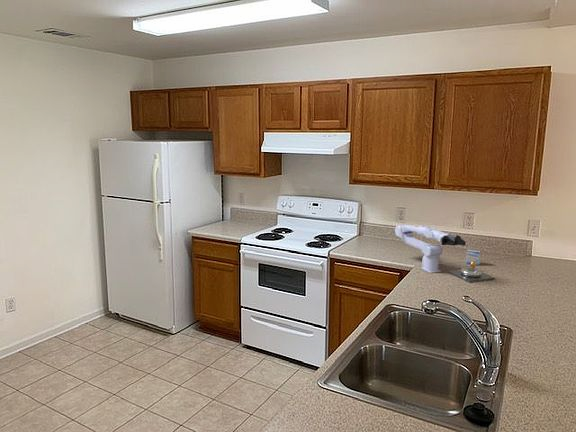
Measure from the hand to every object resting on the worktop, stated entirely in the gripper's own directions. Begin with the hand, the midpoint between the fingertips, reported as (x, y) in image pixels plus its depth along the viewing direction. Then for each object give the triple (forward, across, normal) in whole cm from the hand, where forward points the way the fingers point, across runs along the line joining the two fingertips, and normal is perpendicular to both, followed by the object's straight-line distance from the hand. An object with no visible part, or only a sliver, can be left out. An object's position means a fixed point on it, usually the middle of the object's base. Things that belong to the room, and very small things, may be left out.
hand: (459, 243), depth 242 cm
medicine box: (-19, +36, +20) cm, 46 cm away
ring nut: (-4, +19, +19) cm, 27 cm away
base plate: (-2, +16, +20) cm, 26 cm away
